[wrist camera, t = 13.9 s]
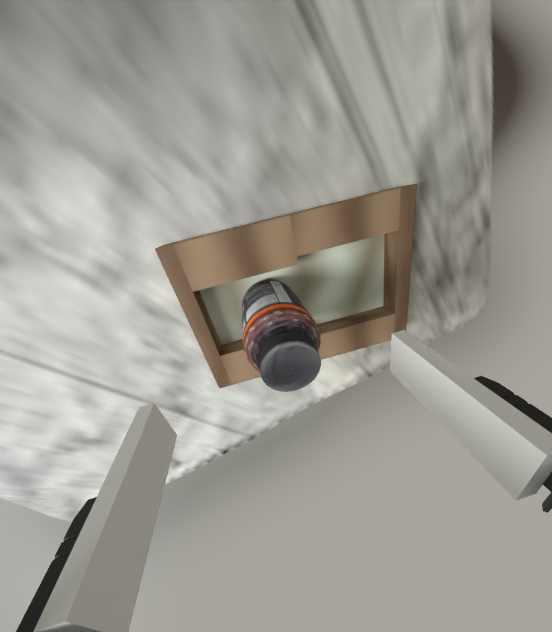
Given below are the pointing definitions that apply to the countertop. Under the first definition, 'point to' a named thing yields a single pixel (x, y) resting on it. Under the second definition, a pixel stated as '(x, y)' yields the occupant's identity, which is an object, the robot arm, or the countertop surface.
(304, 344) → the supplement bottle
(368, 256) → the brown wooden picture frame
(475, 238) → the countertop surface
